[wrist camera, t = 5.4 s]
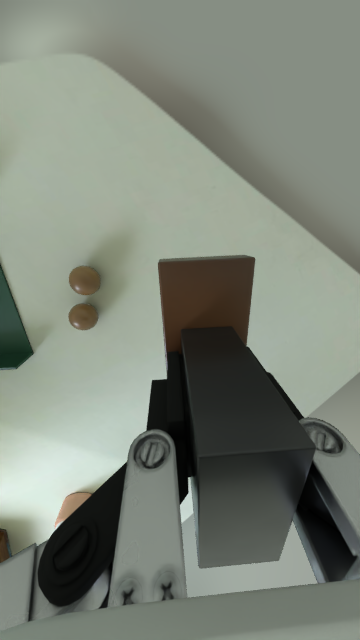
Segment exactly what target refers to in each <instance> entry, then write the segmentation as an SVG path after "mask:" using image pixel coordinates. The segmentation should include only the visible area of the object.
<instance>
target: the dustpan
mask: <svg viewBox="0 0 360 640" xmlns="http://www.w3.org/2000/svg"><path fill="white" fill-rule="evenodd" d="M32 355H33V351H32V349H31V346H30V343H29V340H28V338H27V335H26V332H25V330H24V327H23V324H22V322H21V319H20V316H19V314H18V311H17V308H16V305H15V303H14V300H13V297H12V295H11V292H10V289H9V287H8V284H7V281H6V279H5V276H4V273H3V270H2V268H1V265H0V370H10V369H17V368H18V367H19V366H20V365H22V364H23V363H24V362H25V361H26V360H27V359H28V358H29V357H31V356H32Z"/></svg>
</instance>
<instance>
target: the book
mask: <svg viewBox="0 0 360 640" xmlns="http://www.w3.org/2000/svg"><path fill="white" fill-rule="evenodd" d="M10 557H12V555H11V551H10V546H9V542H8V537H7V533H6V530H0V563H1V562H3V561H5V560H7V559H8V558H10Z"/></svg>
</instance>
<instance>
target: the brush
mask: <svg viewBox="0 0 360 640" xmlns="http://www.w3.org/2000/svg"><path fill="white" fill-rule="evenodd" d="M254 266H255V258H254V257H251V256H247V255H233V256H213V257H192V258H172V259H160V260H159V262H158V271H159V283H160V295H161V308H162V320H163V332H164V344H165V357H166V369H167V352H172V351H178V353H179V354H182V357H183V365H184V374H185V382H186V391H187V399H188V408H189V418H190V441H191V474H192V477H190V479H191V490H192V501H193V512H194V522H195V533H196V544H197V556H198V566H199V568H211V567H220V566H231V565H241V564H251V563H261V562H270V561H278V560H279V559H280V556H281V553H282V550H283V547H284V544H285V541H286V538H287V535H288V532H289V529H290V526H291V523H292V520H293V517H294V514H295V511H296V508H297V505H298V502H299V499H300V496H301V493H302V490H303V487H304V484H305V481H306V478H307V475H308V472H309V469H310V466H311V463H312V460H313V457H314V454H315V451H316V445H315V443H314V442H313V441H312V439H311V438H310V436H309V435H308V434H307V432H306V431H305V429H304V428H303V426H302V425H301V424H300V422H299V421H298V419H297V418H296V416H295V415H294V414H293V412H292V411H291V409H290V408H289V406H288V405H287V404H286V402H285V401H284V399H283V398H282V396H281V395H280V394H279V392H278V391H277V389H276V388H275V387H274V385H273V384H272V382H271V381H270V379H269V378H268V377H267V375H266V374H265V372H264V371H263V369H262V368H261V367H260V365H259V364H258V362H257V361H256V359H255V358H254V357H253V355H252V354H251V352H250V351H249V350H248V348H247V347H246V345H247V335H248V325H249V315H250V306H251V296H252V286H253V276H254Z"/></svg>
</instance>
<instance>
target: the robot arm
mask: <svg viewBox="0 0 360 640" xmlns="http://www.w3.org/2000/svg"><path fill="white" fill-rule="evenodd" d="M247 348H248V350H249V351H250V352H251V354H252V355H253V357H254V358H255V359H256V361H257V362H258V364H259V365H260V367H261V368H262V369H263V371H264V372H265V374H266V375H267V377H268V378H269V379H270V381H271V382H272V384H273V385H274V387H275V388H276V389H277V391H278V392H279V394H280V395H281V396H282V398H283V399H284V401H285V402H286V404H287V405H288V406H289V408H290V409H291V411H292V412H293V414H294V415H295V416H296V418H297V419H298V421H299V422H300V424H301V425H302V426H303V428H304V429H305V431H306V432H307V434H308V435H309V436H310V438H311V439H312V441H313V442H314V443H315V445H316V451H315V454H314V457H313V460H312V463H311V466H310V469H309V472H308V475H307V478H306V481H305V484H304V487H303V490H302V493H301V496H300V499H299V502H298V505H297V508H296V511H295V514H294V517H293V522H294V525H295V527H296V530H297V532H298V535H299V537H300V540H301V542H302V545H303V547H304V550H305V552H306V555H307V557H308V560H309V562H310V565H311V567H312V569H313V572H314V575H315V577H316V580H317V582H318V584H308V585H299V586H290V587H281V588H271V589H263V590H253V591H244V592H235V593H226V594H218V595H208V596H200V597H191V598H187V589H186V576H185V565H184V553H183V540H182V527H181V514H180V504H181V503H182V501H183V500H184V499H185V497H186V496H187V494H188V477H192V474H191V441H190V418H189V408H188V399H187V391H186V382H185V374H184V365H183V357H182V354H179V353H178V351H172V352H167V379H163V380H152V385H151V394H150V403H149V413H148V422H147V431H145V432H144V433H142V434H140V435H139V436H138V437H137V438H136V439H135V440H134V441H133V443H132V444H131V446H130V449H129V453H128V460H127V462H126V463H125V464H124V465H123V466H122V467H121V468H120V469H119V470H118V471H117V472H116V473H114V474H113V475H112V476H111V477H110V478H109V479H108V480H107V481H106V482H105V483H104V484H103V485H102V486H101V487H100V488H98V489H97V490H96V491H95V492H94V493H93V494H92V495H91V496H90V497H89V498H88V499H87V500H86V501H85V502H84V503H82V504H81V505H80V506H79V507H78V508H77V509H76V510H75V511H74V512H73V513H72V514H71V515H70V516H69V517H68V518H67V519H65V520H64V521H63V522H62V523H61V524H60V526H59V527H58V528H57V529H56V530H55V531H54V532H53V534H52V535H51V537H50V539H49V540H47V541H45V542H43V543H42V544H40V545H38V546H37V545H36V543H34V544H33V545H31V546H29V547H27V548H26V549H24V550H22V551H20V552H19V553H17V554H15V555H14V556H12V557H10V558H8V559H7V560H5V561H3V562H1V563H0V640H360V454H359V453H358V452H357V451H356V449H355V448H354V447H353V446H352V445H351V444H350V442H349V441H348V440H347V438H346V437H345V436H344V435H343V434H342V433H341V432H340V431H339V430H338V429H337V428H335V427H334V426H332V425H331V424H329V423H327V422H325V421H323V420H320V419H317V418H309V417H308V418H304V417H303V416H302V414H301V413H300V412H299V410H298V409H297V408H296V406H295V405H294V404H293V402H292V401H291V400H290V398H289V397H288V396H287V394H286V393H285V392H284V390H283V389H282V387H281V386H280V385H279V383H278V382H277V381H276V379H275V378H274V377H273V375H272V374H271V373H269V372H266V371H265V369H264V368H263V366H262V365H261V364H260V362H259V361H258V359H257V358H256V357H255V355H254V354H253V352H252V351H251V350H250V348H249V347H247Z"/></svg>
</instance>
